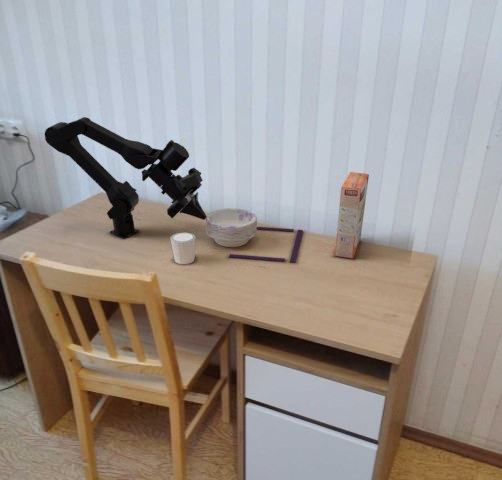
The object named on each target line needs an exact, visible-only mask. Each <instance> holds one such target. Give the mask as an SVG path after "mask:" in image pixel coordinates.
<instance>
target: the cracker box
mask: <svg viewBox="0 0 502 480" xmlns="http://www.w3.org/2000/svg"><path fill="white" fill-rule="evenodd" d="M369 179H370V174H369V173H364V172H354V171H353V172H352V171H350V172H349V173H348V174H347V177H346V178H345V179H344V182H343V183H342V185H341V186H340V196H339V203H338V204H339V205H338V215H337V227H336V234H335V235H336V236H335V245H334V255H333V256H334V257H338V258H345V259H354V257H355V254H356V253H357V250H358V247H359V245H360V242H361V239H362V232H363V231H362V230H363V222H364V215H365V208H366V199H367V194H368V192H367V191H368V186H369V185H368V184H369Z"/></svg>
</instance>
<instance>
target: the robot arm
mask: <svg viewBox="0 0 502 480" xmlns="http://www.w3.org/2000/svg"><path fill="white" fill-rule="evenodd" d="M80 135H82V136H85V137H86V138H88V139H90V140H92V141H94V142H96V143H98V144H100V145H101V146H103V147H105V148H107V149H109V150H111V151H113V152H115V153H117V154H118V155H120V156H121V158H122V159H123V161H125V163H127V164H129V165H130V166H131V167H133V168H134V169H137V170H142V171H141V179H142V180H141V181H142V182H145V181H146V180H147V179H150V180H151V181H152V182H153V183H155V184H156V186H157V187H158V188H160V189H161V192H160V194H162V195H163V196H164V195H165V194H166V195H167V196H168V197H169V198H170V199H171V200H172V201H171V202H170V203H171V205H170V206H169V207H168V208H167V209H166V213H167V215H168V216H169V217H170V219H174V218H175V217H176V216H177V215H178V214H185V215H189V216H190V217H191V216H192V217H195V218H197V219H200V220H203V221H206V217H207V214H206V213H205V211H204V209H203V208H202V205H201V204H200V202H199V192H198V191H197V190H199V189H200V188H201V187H202V185H203V184H202V182H203V181H204V180H203V178H202V172H201V171H199V169H197V168H195V167H192V168H190V169H189V170H188V174H186V175H185V176H183V177H182V176H181V175H180V174H176V175H175V174H174V173H173V171H174V172H176V171H178V170H179V169H180V168H181V166H182V165H184V163H185V162H186V161H187V160H188V159H189V158H190V153H189V151H188V149H186V148H185V146H184V145H181V144H180V143H178V142H175V141H174V140H173V139H171V140H169V141H168V142H167V143H166V145H165V147H163V149H159V148H153V147H152V146H151V145H149V144H148V143H144V142H141V141H138V140H131V139H128V138H125V137H123V136H121V135H119V134H117V133H116V132H114V131H112V130H109V129H108V128H106V127H104V126H102V125H101V124H99V123H97V122H95V121H93V120H91V118H90V117H87V116H83V117H81V118H79V119H76V120H74V121H71V122H65V121H64V122H63V121H60V122H57V123H55V124H53V125H50V126H49V127H47V128H46V129H45V130H44V140H45V142H46V144H48V145H49V147H51V148H52V149H54V150H56V151H57V152H59V153H61V154H64V155H66V156H68V157H69V158H70V159H71V160H72V161H73V162H74V163H76V165H77V166H78V167H80V168H81V170H82V171H83V172H84V173H86V175H88V176H89V178H91V179H92V180H93V182H94V183H96V184H97V186H99V187H100V188H101V189H102V190H103V191H104V192H105V194H106V196H107V199H108V201H109V203H110V205H111V207H110V208H109V210H107V212H106V214H107V216H108V219H109V220H112V226H113V229H112V230H111V231H109V233H110V234H111V235H113V236H116V237H117V238H121V239H125V238H127V237H130V236H133V235H135V234H137V233H139V232H140V231H139V230H138V229H136V228H135V221H134V217H133V214H132V212H133V211H134V210H135V207H136V206H137V205H138V204H139V202H140V199H139V197H140V196H139V194H138V193H137V189H136V188H134V187H133V186H132V185H131V183H130V181H129V182H128V180H125V181H124V182H121V181H118V180H117V179H116V178H115V177H114V176H113V175H112V174H111V173H110V172H109V171H108V170H107V169H106V168H105V167H104V166H103V165H102V164H101V163H100V162H99V161H98V160H97V159H96V158H95V157H94V156H93V155H92V154H91V153H90V152H89V151H88V150H87V149H86V148H85V147H84V146H83V145H82V143H81V141H80V138H79V136H80ZM157 161H159V162H158V163H156V162H157ZM147 166H149V167H148V168H147ZM146 168H147V169H146ZM196 191H197V192H196Z"/></svg>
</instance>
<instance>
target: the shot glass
mask: <svg viewBox="0 0 502 480" xmlns="http://www.w3.org/2000/svg"><path fill="white" fill-rule="evenodd" d="M170 242H171V248H172V249H171V250H172V253H173V254H172V255H173V258H174V262H175V263H176V264H179V265H189V264H191V263H193V262H194V261H195V258H196V236H195V234H194V233H191V232H178V233H174V234H172V235H171V236H170Z"/></svg>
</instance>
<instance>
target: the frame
mask: <svg viewBox="0 0 502 480" xmlns="http://www.w3.org/2000/svg"><path fill="white" fill-rule="evenodd" d="M257 231H271V232H285V233H294V228H281V227H268V226H257ZM303 232H304V230H303V229H297V233H296V236H295V240H294V244H293V248H292V252H291V256H290V259H289V263H291V264H295V263H296V261H297V257H298V253H299V249H300V244H301V241H302V236H303ZM228 258H229V259H242V260H254V261H255V260H256V261H265V262H267V261H268V262H278V263H285V262H286V258H285V257H283V258H282V257H272V256H271V257H269V256H257V255H247V254H246V255H244V254H233V253H232V254H231V253H230V254H229V256H228Z"/></svg>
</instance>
